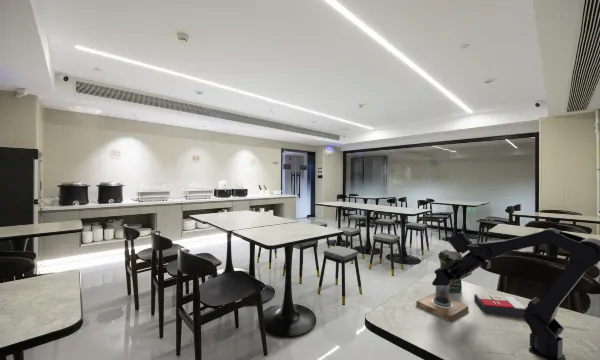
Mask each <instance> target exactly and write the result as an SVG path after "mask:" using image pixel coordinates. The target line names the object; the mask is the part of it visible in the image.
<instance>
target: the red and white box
mask: <svg viewBox="0 0 600 360" xmlns="http://www.w3.org/2000/svg"><path fill="white" fill-rule="evenodd" d="M473 296H474V297H473V298H474V299H473V300H474V302H475V303H476V304H477V306H478V307H479V309H480V310H481V311H482V312H483V313H485V314H491V315H498V316H509V317H515V318H521V319H524V318H523V315H524V313H525V312H524V311H523V310H524V309H525V308H526V307H527V306H526V307H525V305H524V304H522V303H521V302H520V301H519V300H518V299H517V298H516V297H514V296H503V295H495V294H484V293H475V294H473Z"/></svg>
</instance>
